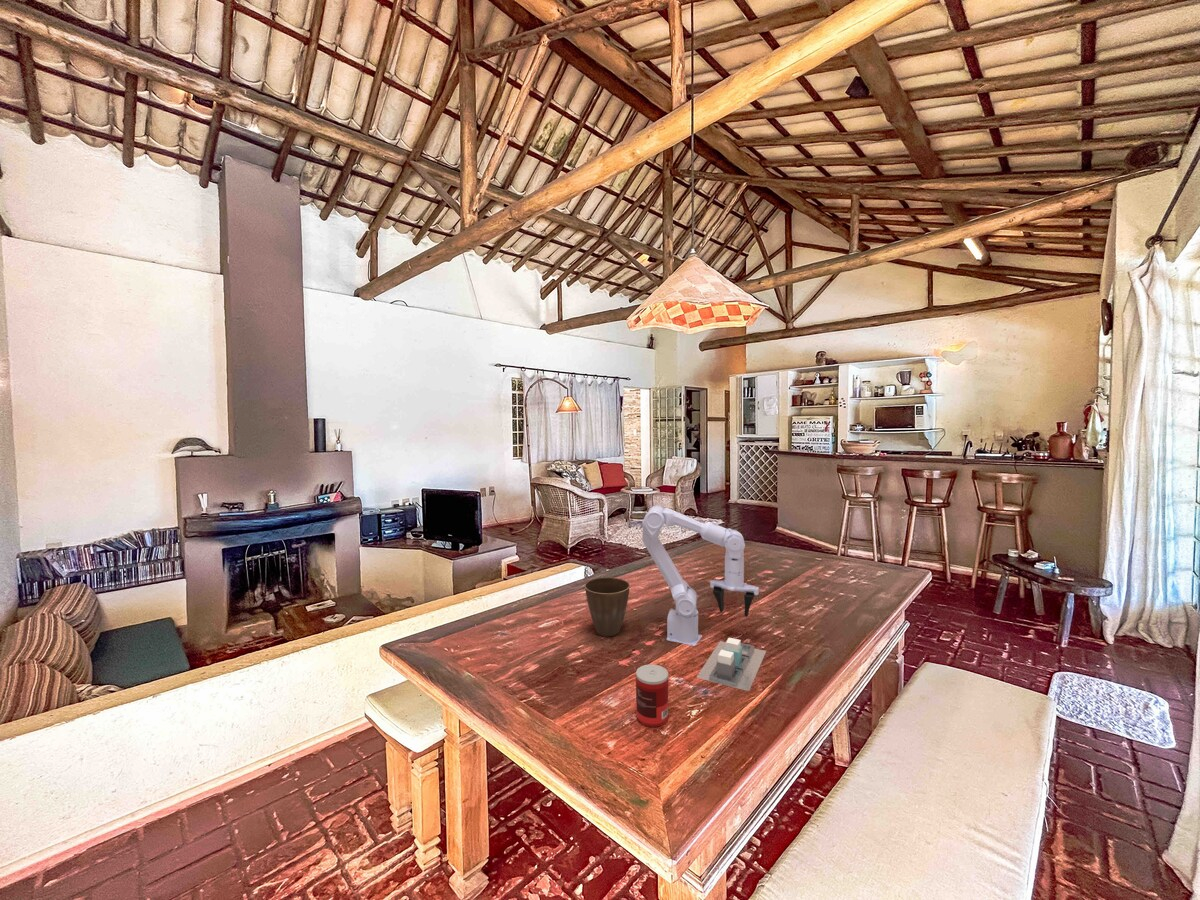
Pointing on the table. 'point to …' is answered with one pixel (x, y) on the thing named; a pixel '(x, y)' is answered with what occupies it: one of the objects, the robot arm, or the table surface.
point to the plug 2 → (726, 665)
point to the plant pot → (607, 603)
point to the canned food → (652, 695)
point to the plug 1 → (735, 649)
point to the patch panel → (742, 672)
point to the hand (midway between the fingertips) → (733, 613)
